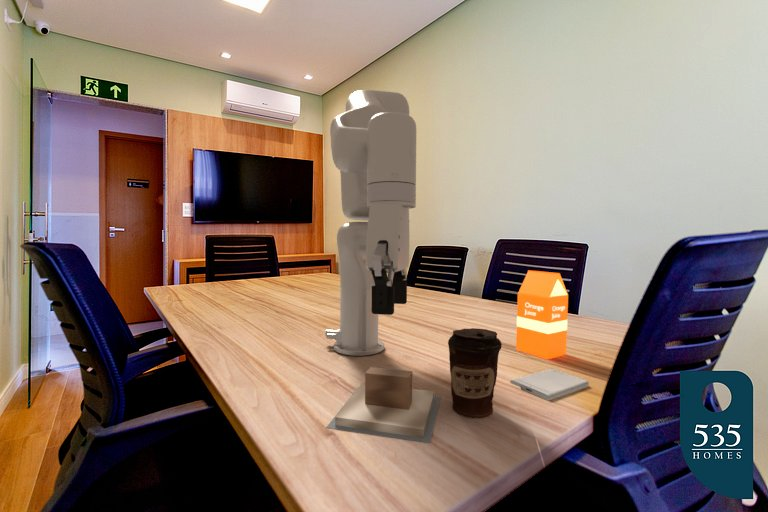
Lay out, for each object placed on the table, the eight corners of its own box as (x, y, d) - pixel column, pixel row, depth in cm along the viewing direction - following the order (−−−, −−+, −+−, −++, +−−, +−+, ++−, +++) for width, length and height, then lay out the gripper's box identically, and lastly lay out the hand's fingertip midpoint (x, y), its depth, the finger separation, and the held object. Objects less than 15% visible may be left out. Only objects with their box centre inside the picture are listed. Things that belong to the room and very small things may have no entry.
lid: (335, 425, 54) (335, 383, 53) (361, 389, 66) (362, 355, 66) (423, 437, 51) (424, 393, 50) (434, 398, 63) (434, 362, 63)
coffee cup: (502, 428, 54) (505, 341, 54) (445, 422, 56) (447, 337, 55) (497, 402, 63) (499, 327, 62) (447, 397, 64) (448, 324, 64)
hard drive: (550, 367, 77) (510, 378, 71) (589, 381, 70) (548, 394, 64) (549, 375, 77) (509, 387, 71) (588, 389, 70) (548, 403, 64)
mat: (326, 430, 53) (326, 427, 53) (358, 389, 68) (358, 386, 68) (429, 445, 49) (429, 442, 49) (440, 398, 64) (440, 396, 64)
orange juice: (547, 359, 85) (550, 273, 84) (515, 349, 93) (517, 270, 92) (566, 354, 90) (569, 272, 89) (534, 345, 97) (537, 269, 96)
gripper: (381, 204, 66) (381, 299, 67) (349, 190, 49) (349, 317, 50) (423, 203, 64) (422, 301, 65) (404, 188, 47) (403, 320, 48)
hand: (390, 308), depth 57 cm, fingers open, 9 cm apart
